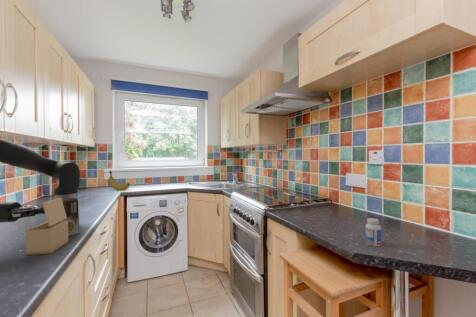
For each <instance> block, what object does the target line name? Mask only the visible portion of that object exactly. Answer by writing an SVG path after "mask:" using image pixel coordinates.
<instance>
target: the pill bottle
mask: <svg viewBox="0 0 476 317" xmlns="http://www.w3.org/2000/svg"><path fill="white" fill-rule="evenodd" d="M364 229H365V243H366V244H367V245H369V246H372V247H380V246H382V243H383V242H382V226H381V225H380V220H379V219H378V218H373V217H368V218H367V220H366V224H365V228H364Z"/></svg>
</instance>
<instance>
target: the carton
mask: <svg viewBox="0 0 476 317" xmlns="http://www.w3.org/2000/svg"><path fill="white" fill-rule="evenodd" d="M69 242H70V241H69V236H68V221H60V222H58V223H55V224H53V225H51V226H49V225H48V222H47V221H44V222H43V223H41V224H38V225H37V226H34V227H32V228H29V229H27V230H25V246H26V248H25V249H26V250H25V252H26V256H33V255H34V256H35V255H36V256H37V255H47V254H53V253H54V252H55V251H57V250H58V249H60V248H61V247H63V246H64V245H65V244H67V243H69Z"/></svg>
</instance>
